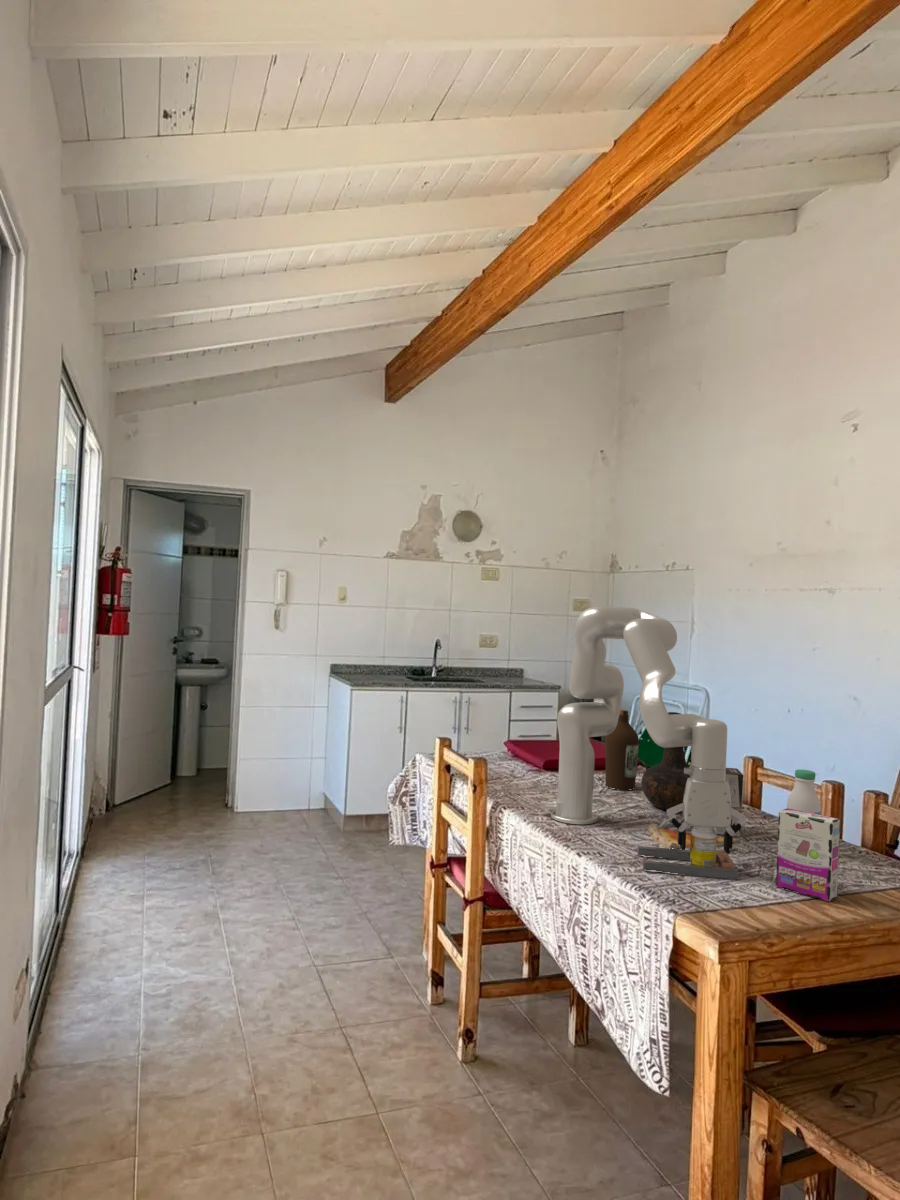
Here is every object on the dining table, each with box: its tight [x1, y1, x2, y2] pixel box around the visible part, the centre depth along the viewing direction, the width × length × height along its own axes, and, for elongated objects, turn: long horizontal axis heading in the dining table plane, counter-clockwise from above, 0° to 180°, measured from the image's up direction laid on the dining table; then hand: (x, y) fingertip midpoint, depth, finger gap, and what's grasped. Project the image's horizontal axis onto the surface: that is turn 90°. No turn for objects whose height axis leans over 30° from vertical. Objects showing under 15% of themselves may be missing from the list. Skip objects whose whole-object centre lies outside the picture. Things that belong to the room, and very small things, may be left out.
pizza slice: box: [648, 823, 739, 849], centre depth 195 cm, size 16×22×2 cm
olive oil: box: [604, 709, 640, 791], centre depth 252 cm, size 11×11×25 cm
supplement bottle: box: [689, 826, 718, 867], centre depth 176 cm, size 6×6×10 cm
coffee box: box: [713, 767, 745, 837], centre depth 207 cm, size 9×6×16 cm
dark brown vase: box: [640, 711, 690, 811], centre depth 229 cm, size 18×18×28 cm
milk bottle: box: [786, 769, 822, 815], centre depth 191 cm, size 8×8×20 cm
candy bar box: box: [775, 807, 841, 902], centre depth 164 cm, size 11×5×16 cm, turn 45°
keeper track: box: [637, 845, 739, 880], centre depth 177 cm, size 20×12×3 cm, turn 83°
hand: (704, 850), depth 176 cm, fingers open, 9 cm apart
